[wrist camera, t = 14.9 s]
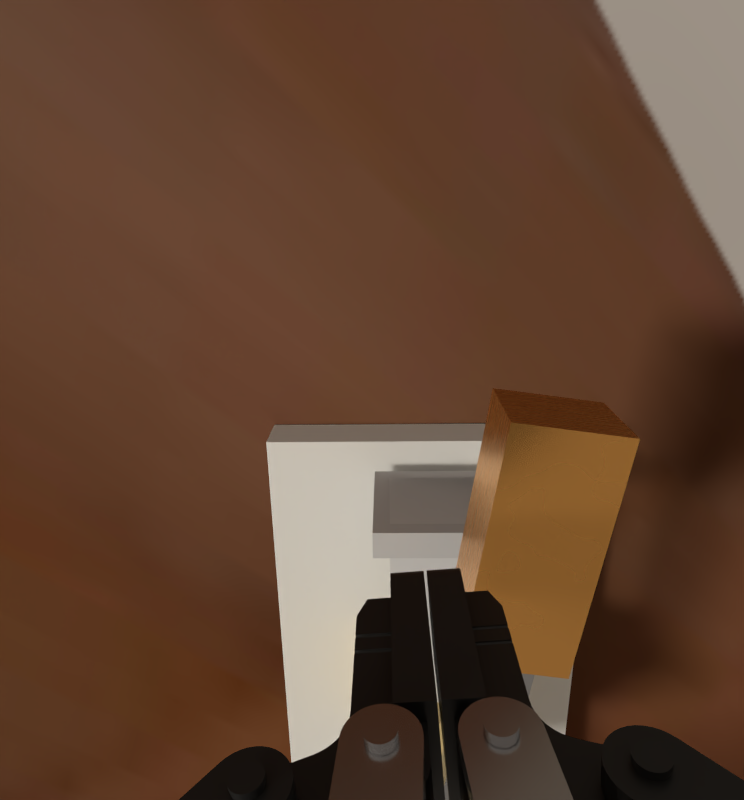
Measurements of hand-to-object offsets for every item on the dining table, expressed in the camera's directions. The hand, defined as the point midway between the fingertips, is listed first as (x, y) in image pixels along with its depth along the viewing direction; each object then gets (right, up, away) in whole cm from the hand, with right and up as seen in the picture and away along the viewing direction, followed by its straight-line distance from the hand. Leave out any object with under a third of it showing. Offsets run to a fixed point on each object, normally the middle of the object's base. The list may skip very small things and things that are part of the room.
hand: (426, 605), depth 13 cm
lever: (+2, -4, +6) cm, 8 cm away
